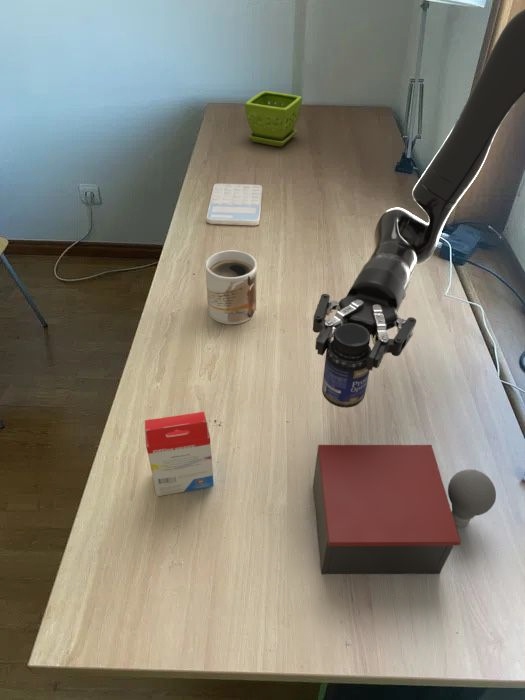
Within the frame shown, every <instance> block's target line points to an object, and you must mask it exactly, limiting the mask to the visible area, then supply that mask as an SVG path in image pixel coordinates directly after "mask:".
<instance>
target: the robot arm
mask: <svg viewBox="0 0 525 700" xmlns="http://www.w3.org/2000/svg"><path fill="white" fill-rule="evenodd" d="M524 94H525V8H524V9H522V10H521V11H519V12H518V13H517V14H515V15H514V16H512V18H511V19H510V20H509V21H508V22H507V24H506V25H505V26H504V28H503V29H502V31H501V33H500V35H499V36H498V37H497V40H496V42H495V43H494V45H493V48H492V50H491V51H490V54H489V56H488V58H487V60H486V62H485V64H484V66H483V68H482V71H481V73H480V75H479V77H478V79H477V81H476V82H475V85H474V87H473V89H472V90H471V93H470V95H469V96H468V98H467V100H466V103H465V104H464V106H463V107H462V110H461V112H460V114H459V116H458V118H457V120H456V121H455V123H454V125H453V127H452V128H451V131H450V132H449V134H448V135H447V137H446V139H445V140H444V142H443V144H442V145H441V146H440V148H439V150H438V151H437V153H436V154H435V155H434V157H433V158H432V160H431V162H430V163H429V165H428V166H427V167H426V169H425V171H424V172H423V173H422V174H421V177H420V178H419V179H418V181H417V183H416V184H415V185H414V187H413V189H412V193H411V195H412V198H413V200H414V201H415V203H416V204H417V205H418V206H419V207H420V208H421V209H422V210H423V211H424V212H425V214H426V216H427V217H428V222H425V221H424V220H423V219H421V218H419V217H418V216H416V215H414V214H412V212H410V211H408V210H406V209H404V208H402V207H393V208H390V209H387V210H386V211H385V212H383V214H382V215H381V216H380V218H379V219H378V221H377V224H376V226H375V228H374V229H375V230H374V235H373V251H372V253H371V255H370V257H369V259H368V261H366V263H365V264H364V265H363V267H362V268H361V269H360V271H359V273H358V274H357V277H356V278H355V279H354V282H353V284H352V285H351V287H350V289H349V291H348V292H347V295H346V296H345V297H344V298H341V299H340V300H335V299H331V297H330V294H328V293H323V294H321V295H320V298H319V301H318V304H317V307H316V309H315V312H314V314H313V320H312V321H313V322H312V331H313V333H318V335H317V337H316V338H315V345H314V347H315V350H316V351H317V353H316V354H317V355H319V356H324V354H326V351H327V347H328V345H329V343H330V342H331V341H332V340H333V337H334V332H335V329H336V328H337V327H338V326H340V325H342V324H347V323H353V324H358V325H361V326H363V327H364V328H366V329H367V330H368V332H369V333H370V338H371V341H372V344H373V347H372V348H371V350H372V351H371V353H370V356H369V358H368V362H367V368H366V369H368V370H370V371H373V369H374V368H375V369H378V368H379V367H380V365H381V363H382V360H383V359H384V356H385V355H387V354H391V355H392V356H394V357H399V356H400V355H401V354H402V352H403V351H404V349H406V348H405V347H406V346H407V344H408V343H409V341H410V340H411V338H412V337H413V335H414V331H415V329H416V323H417V319H416V318H415V317H414V316H413V317H407V319H404V318H401V317H399V315H398V311H399V309H400V307H401V305H402V303H403V300H405V297H406V295H407V291H408V289H409V285H410V280H411V278H412V276H413V274H414V272H415V270H416V267H417V266H418V265H419V266H420V265H422V264H424V263H426V262H427V261H428V260H429V259H430V258H431V257H432V256H433V254H434V252H435V250H436V248H437V245H438V242H439V240H440V237H441V235H442V231H443V229H444V226H445V224H446V222H447V221H448V218H449V216H450V214H451V212H452V211H453V210H454V208H455V207H456V205H457V204H458V202H459V201H460V200H461V198H462V197H463V196H464V194H465V193H466V192H467V190H468V189H469V188H470V186H471V185H472V183H473V182H474V180H476V177H478V175H479V173H480V171H481V169H482V167H483V165H484V163H485V161H486V159H487V157H488V154H489V151H490V148H491V145H492V144H493V141H494V138H495V136H496V134H497V132H498V130H499V128H500V126H501V125H502V123H503V121H505V118H506V117H507V115H508V114H509V112H510V111H511V109H512V108H513V107H514V106H515V104H516V103H517V102H518V101H519V100H520V99H521V98H522V97H523V95H524ZM334 311H336V313H335V314H334V315H333V316H331V314H332V313H333V312H334ZM329 316H331V317H329ZM327 317H329V318H328V319H326V318H327ZM395 327H396V328H397V329H396V332H397V333H396V335H394V338H390V337H389V334H388V332H387V331H388V330H391V329H393V328H395Z"/></svg>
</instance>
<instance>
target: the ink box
mask: <svg viewBox="0 0 525 700" xmlns="http://www.w3.org/2000/svg"><path fill="white" fill-rule="evenodd" d="M144 434H145V435H144V436H145V437H144V438H145V448H146V452H147V455H148V456H147V457H148V461H149V466H150V470H151V476H152V480H153V485H154V491H155V494H156V496H157V497H161V496H168V495H173V494H179V493H185V492H191V491H196V490H202V489H207V488H208V489H209V488H213V487H214V486H215V484H214V473H213V472H214V471H213V459H212V447H211V446H212V444H211V436H210V431H209V426H208V421H207V417H206V413H205V411H199V412H192V413H187V414H179V415H172V416H166V417H165V416H164V417H159V418H151V419H145V420H144Z"/></svg>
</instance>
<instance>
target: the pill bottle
mask: <svg viewBox="0 0 525 700" xmlns="http://www.w3.org/2000/svg"><path fill="white" fill-rule="evenodd" d="M370 341H371V335H370V333H369V332H368V330H367V329H366V328H364V327H363V326H361V325H358V324H353V323H347V324H342V325H340V326H338V327H337V328H336V329H335V332H334V337H332V339H331V342H330V343H329V345H328V347H327V349H326V351H325V360H324V367H323V376H322V385H321V392H322V395H323V398H324V399H325V400H326V401H327V402H328V403H329V404H331V405H333V406H335V407H338V408H347V409H348V408H352V407H353V408H354V407H356V406H358V405H359V404H360V403H362V402H363V400H364V399H365V395H366V391H367V387H368V381H369V375H370V371H371V370H368V369H366V368H367V362H368V358H369V356H370V353H371V351H372V348H371V346H370Z"/></svg>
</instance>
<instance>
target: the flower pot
mask: <svg viewBox="0 0 525 700" xmlns="http://www.w3.org/2000/svg"><path fill="white" fill-rule="evenodd" d="M302 100H303V98H302V96H300V95H295V94H290V93H283V92H275V91H268V90H263V91H260V92H259V93H257V94H256V95H254V96H252V97H251V98H250V99H248V101H246V102H245V103H244V105H245V106H244V107H245V115H246V120H247V123H248V126H249V128H250V130H251V133H250V134H249V136H248V138H249V139H250V140H251V141H252V142H253V143H258V144H263V145H268V146H273V147H279V148H280V147H283V146H284V145H285V144H286V143H288V142H289V141H290V140H291V139H292V138H293V137H294V136H295V135H296V134H297V132H298V130H297V129H295V126H296V124H297V122H298V118H299V116H300V112H301V107H302Z"/></svg>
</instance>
